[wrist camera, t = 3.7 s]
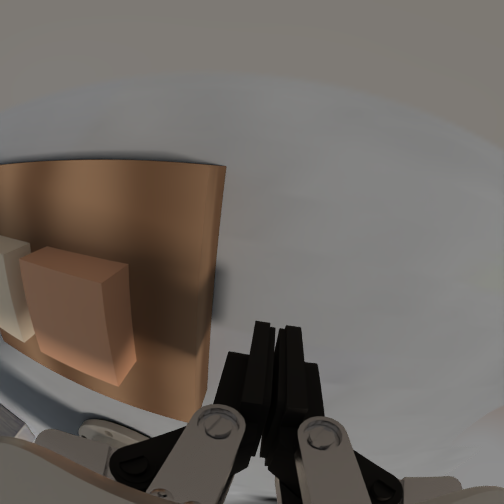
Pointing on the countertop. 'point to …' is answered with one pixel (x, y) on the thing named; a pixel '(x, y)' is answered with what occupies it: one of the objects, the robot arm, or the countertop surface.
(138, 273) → the walnut board
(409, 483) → the robot arm
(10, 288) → the cream tile
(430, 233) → the countertop surface
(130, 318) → the terracotta tile
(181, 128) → the countertop surface
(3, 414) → the medicine box
